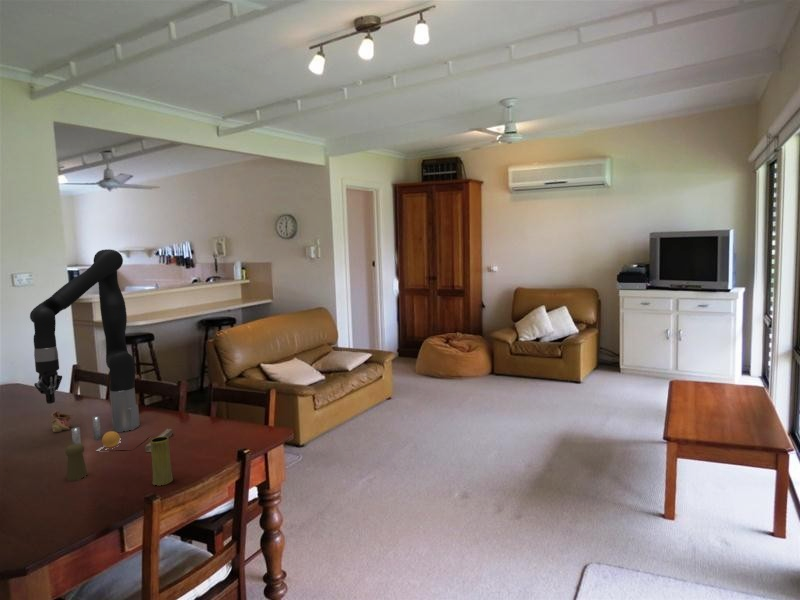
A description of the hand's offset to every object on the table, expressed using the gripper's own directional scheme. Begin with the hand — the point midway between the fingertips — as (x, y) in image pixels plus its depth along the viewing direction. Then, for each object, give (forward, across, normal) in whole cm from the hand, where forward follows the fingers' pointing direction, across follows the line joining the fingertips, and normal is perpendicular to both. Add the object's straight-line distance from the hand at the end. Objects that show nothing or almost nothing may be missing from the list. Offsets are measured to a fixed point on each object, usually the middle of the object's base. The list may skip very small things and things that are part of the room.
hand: (50, 402), depth 203 cm
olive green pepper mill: (+17, -29, -27) cm, 43 cm away
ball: (+14, -2, -24) cm, 28 cm away
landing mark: (+17, 0, -27) cm, 32 cm away
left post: (+17, -7, -13) cm, 22 cm away
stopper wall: (+17, 0, -41) cm, 44 cm away
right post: (+17, +6, -13) cm, 22 cm away
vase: (+17, -34, -58) cm, 69 cm away
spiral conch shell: (+17, +19, +10) cm, 27 cm away
